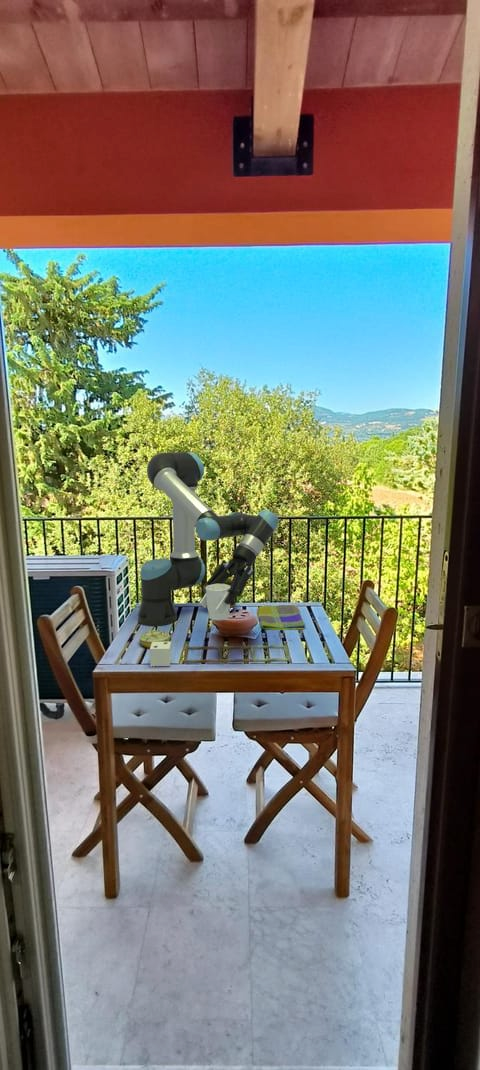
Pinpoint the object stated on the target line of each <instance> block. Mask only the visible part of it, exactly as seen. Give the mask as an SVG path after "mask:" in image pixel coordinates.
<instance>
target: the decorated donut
mask: <svg viewBox="0 0 480 1070" xmlns="http://www.w3.org/2000/svg"><path fill="white" fill-rule="evenodd" d="M138 638H139V639H138V640H139V643H140V645H141V646H142V647H143V648H148V649H150V647H151V644H152V642H170V640H171V635H170V633H168V632H166V631H163V630H155V629H154V630H147V631H145V632H143V633H142V634H140V635H139V637H138Z"/></svg>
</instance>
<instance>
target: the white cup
mask: <svg viewBox="0 0 480 1070" xmlns="http://www.w3.org/2000/svg"><path fill="white" fill-rule="evenodd" d="M228 590H230V586H229V585H226V584H212V585H208V586H206V597H207V607H206V608H207V616H208V618H209V620H211V621H212V620H213V621H224V620H227V619H229V617H230V613H231V612H230V610H229V609H230V604H229V605H227V607H226V609H225V610H224V612H223V613H222V614H220V613H219V612H218V611H217V610H216V608H217V606H218V604H219V603H220V601H221V600H222V598H223V597H224V595H225V594H226V592H228ZM228 593H229V592H228Z"/></svg>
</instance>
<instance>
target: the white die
mask: <svg viewBox="0 0 480 1070" xmlns="http://www.w3.org/2000/svg"><path fill="white" fill-rule="evenodd" d="M149 660H150V661H149V662H150V664H149V665H150V666H149V667H150V668H155V667H154V666H170V667H171V664H170V663H172V660H173V659H172V641H169V642H152V644H151V647H150V648H149ZM152 666H153V667H152Z"/></svg>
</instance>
